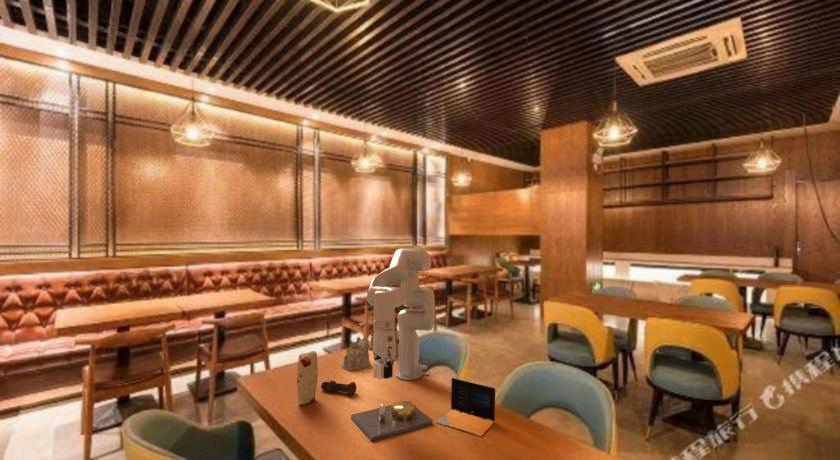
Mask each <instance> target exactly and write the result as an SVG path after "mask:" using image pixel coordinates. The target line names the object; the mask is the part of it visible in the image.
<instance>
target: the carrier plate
mask: <svg viewBox="0 0 840 460" xmlns="http://www.w3.org/2000/svg"><path fill="white" fill-rule="evenodd" d="M406 402H410V401H409V400H406ZM391 406H393V404H390V405H385V404H383V403H382V404H380V405H379V407H377V408H374V409H369V410H364V411H361V412H357V413H354V414H351V415H350V420H351V421H352V422H353V423H354V424H355V425H356V426H357V427H358V429H360V431H361V432H362V433H363V434H364V435H365V436H366V437H367V438H368V439H369V441H370V442H371V443H372V442H376V441H379V440H383V439H386V438H389V437H393V436H396V435H400V434H403V433H406V432H411V431H413V430H417V429H420V428H423V427H427V425H428V426H431V425H433V419H432V418H431V417H430V416H428V415H427V414H426V413H424V412H423V411H422V410H421V409H419V408H418V407H416V414H414V418H409V419H407V420H403V419H395V417H394V416H393V415H392V416H391Z"/></svg>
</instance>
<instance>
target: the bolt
mask: <svg viewBox="0 0 840 460" xmlns="http://www.w3.org/2000/svg"><path fill="white" fill-rule="evenodd" d="M320 388H321V390H323V391H324V390H325V391H327V392H328V393H334V392H338V393H339V392H340V393H346V394H347V395H348V397H353V396H354V395H355V394H356V392H357V384H356V383H355V381H351V382H349V383H348V384H346V383H339V382H338V383H337V382H336V380H332V379H331V380H330V381H324V382H321V386H320Z"/></svg>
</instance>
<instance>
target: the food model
mask: <svg viewBox="0 0 840 460" xmlns="http://www.w3.org/2000/svg"><path fill="white" fill-rule="evenodd" d="M318 371H319V367H318V352H317V351H315V350H311V351H309V352H305V353H300V354H299V355H298V362H297V373H296V383H297V384H296V386H297V387H296V388H297V401H298V405H307V404H310V403H312V402H314V401H315V399H316V393H317V386H318V380H319V379H318V375H319V373H318Z"/></svg>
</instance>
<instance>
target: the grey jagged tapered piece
mask: <svg viewBox="0 0 840 460" xmlns="http://www.w3.org/2000/svg"><path fill="white" fill-rule="evenodd" d="M369 348H370V345H369V344H368V340H367V335H364V336H363V337H362V338H361V337H360V336H357V337H356V341H354V342H351V343H350V345H349V346H348V347H347V349H346V354H345V355H344V357H343V362H342V364H341V368H342V369H344V370H347V371H353V370H354V371H355V370H360V369H364V368H367V367H369V366H370V364H371V361H370V353H369Z"/></svg>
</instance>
